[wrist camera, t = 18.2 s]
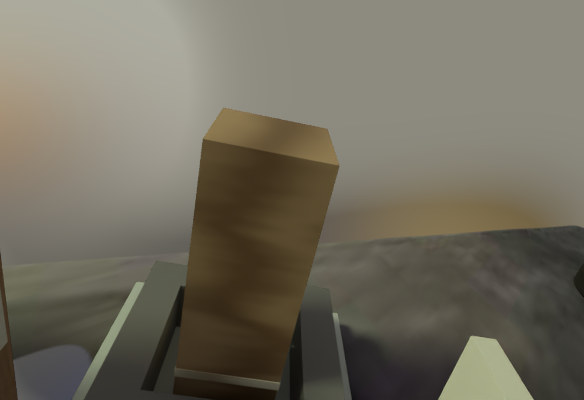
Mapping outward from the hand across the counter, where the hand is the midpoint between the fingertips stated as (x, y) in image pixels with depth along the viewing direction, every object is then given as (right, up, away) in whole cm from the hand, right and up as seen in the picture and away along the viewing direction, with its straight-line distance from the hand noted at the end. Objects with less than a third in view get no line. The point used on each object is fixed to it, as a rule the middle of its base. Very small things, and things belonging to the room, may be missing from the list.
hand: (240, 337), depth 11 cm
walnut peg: (-3, -9, +16) cm, 19 cm away
